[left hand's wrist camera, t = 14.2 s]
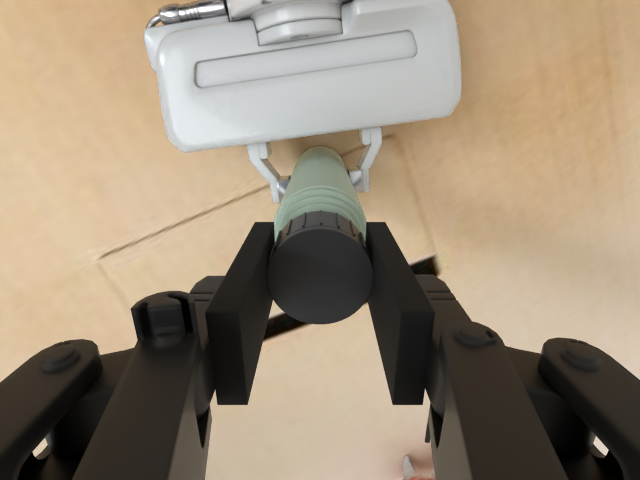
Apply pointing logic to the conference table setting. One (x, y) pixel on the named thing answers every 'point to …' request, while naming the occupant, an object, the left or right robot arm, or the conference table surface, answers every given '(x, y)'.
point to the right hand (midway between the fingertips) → (322, 196)
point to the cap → (320, 268)
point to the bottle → (320, 190)
